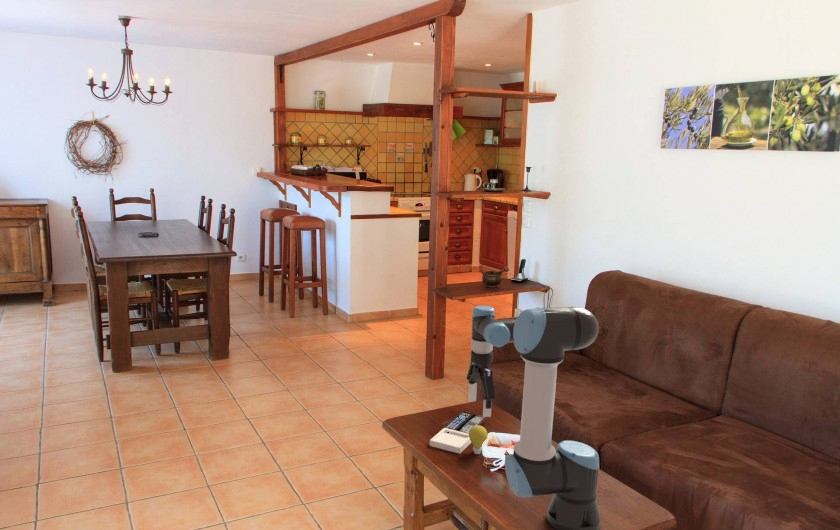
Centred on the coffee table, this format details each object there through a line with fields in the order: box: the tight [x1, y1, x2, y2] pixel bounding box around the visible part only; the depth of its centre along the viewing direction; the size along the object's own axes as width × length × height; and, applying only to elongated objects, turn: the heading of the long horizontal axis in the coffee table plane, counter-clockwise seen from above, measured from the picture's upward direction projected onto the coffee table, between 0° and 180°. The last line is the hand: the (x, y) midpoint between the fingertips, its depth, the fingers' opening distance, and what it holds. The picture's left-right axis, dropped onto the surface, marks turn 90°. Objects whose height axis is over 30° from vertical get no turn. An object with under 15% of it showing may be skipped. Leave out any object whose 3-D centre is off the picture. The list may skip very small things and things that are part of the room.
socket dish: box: [429, 427, 472, 454], centre depth 233 cm, size 12×12×2 cm
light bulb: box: [468, 425, 489, 455], centre depth 225 cm, size 7×7×10 cm
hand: (479, 408), depth 223 cm, fingers open, 13 cm apart
